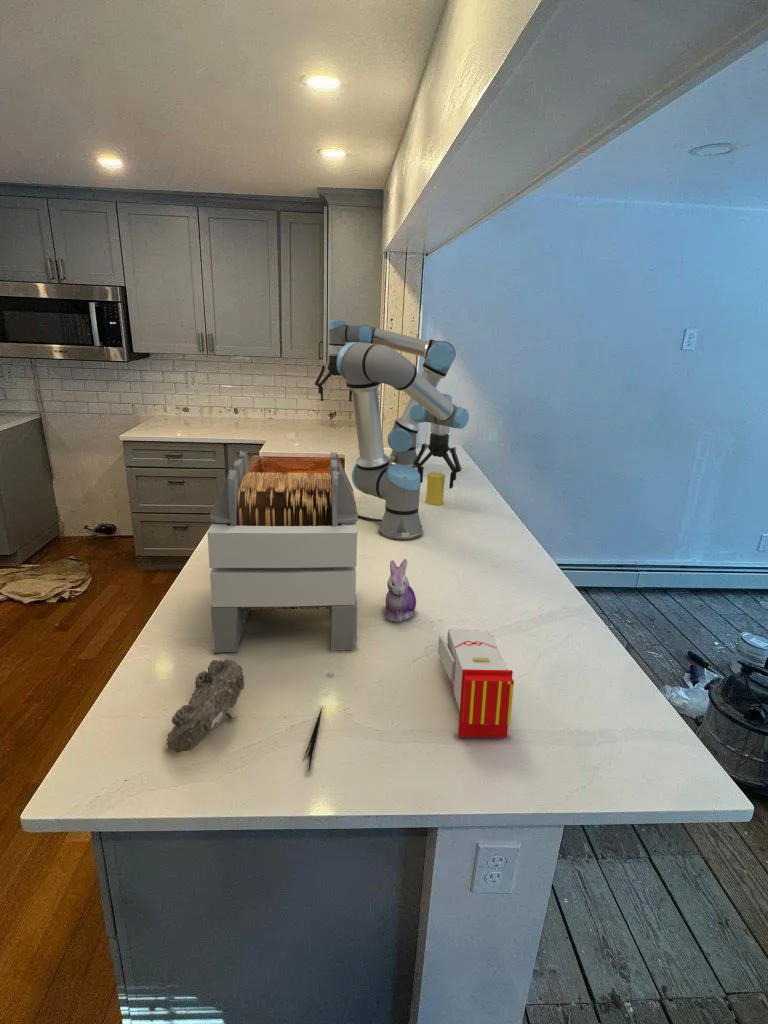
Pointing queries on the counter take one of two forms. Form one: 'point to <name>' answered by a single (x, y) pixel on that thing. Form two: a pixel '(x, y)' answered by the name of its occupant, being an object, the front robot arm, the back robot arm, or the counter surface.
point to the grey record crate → (283, 549)
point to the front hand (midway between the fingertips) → (435, 485)
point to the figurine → (399, 594)
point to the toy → (478, 682)
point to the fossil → (206, 705)
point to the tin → (435, 488)
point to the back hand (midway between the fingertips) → (336, 401)
